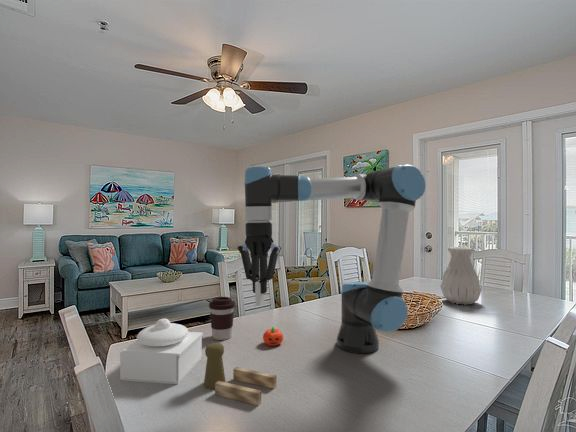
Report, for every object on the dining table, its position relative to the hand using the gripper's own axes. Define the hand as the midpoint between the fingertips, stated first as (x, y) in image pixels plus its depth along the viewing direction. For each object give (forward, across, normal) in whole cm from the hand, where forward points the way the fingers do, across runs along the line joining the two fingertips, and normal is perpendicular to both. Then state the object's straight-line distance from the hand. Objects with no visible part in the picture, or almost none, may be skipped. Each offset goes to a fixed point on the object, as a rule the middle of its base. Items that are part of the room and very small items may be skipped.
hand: (260, 304), depth 97 cm
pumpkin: (+23, +9, -27) cm, 36 cm away
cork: (+22, +11, +6) cm, 26 cm away
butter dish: (+22, +31, +5) cm, 38 cm away
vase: (+25, -59, -122) cm, 138 cm away
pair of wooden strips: (+22, +1, +6) cm, 23 cm away
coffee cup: (+22, +30, -25) cm, 45 cm away
